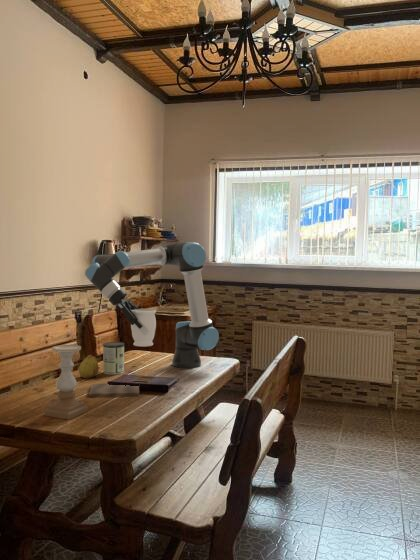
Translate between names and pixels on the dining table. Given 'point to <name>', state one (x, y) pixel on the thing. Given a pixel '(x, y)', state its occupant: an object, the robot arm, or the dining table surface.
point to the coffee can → (113, 358)
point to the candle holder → (66, 387)
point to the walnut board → (113, 390)
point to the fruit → (88, 367)
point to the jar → (149, 321)
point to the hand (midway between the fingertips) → (150, 331)
